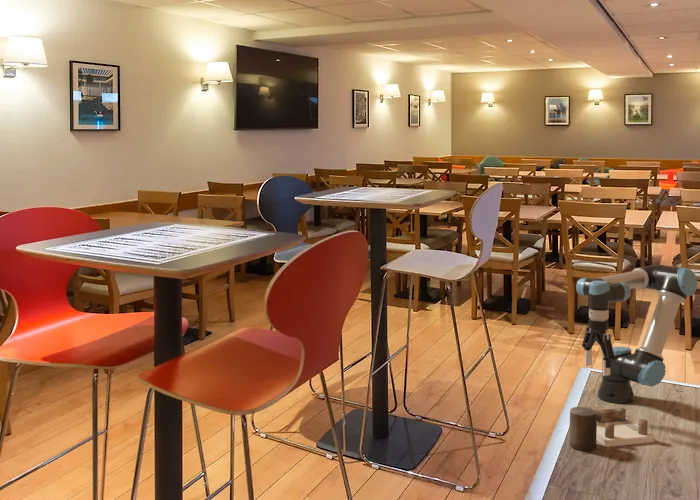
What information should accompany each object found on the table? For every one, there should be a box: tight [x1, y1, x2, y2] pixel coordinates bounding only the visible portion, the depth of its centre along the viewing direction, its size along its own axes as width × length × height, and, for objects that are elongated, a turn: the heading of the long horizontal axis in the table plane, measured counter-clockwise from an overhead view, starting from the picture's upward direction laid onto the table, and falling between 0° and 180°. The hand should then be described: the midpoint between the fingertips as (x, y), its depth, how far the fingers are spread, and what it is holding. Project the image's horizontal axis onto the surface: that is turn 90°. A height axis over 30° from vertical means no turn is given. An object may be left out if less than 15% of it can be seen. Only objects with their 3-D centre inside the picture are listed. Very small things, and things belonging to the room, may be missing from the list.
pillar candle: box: [568, 406, 597, 452], centre depth 247 cm, size 10×10×15 cm
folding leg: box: [595, 407, 627, 423], centre depth 264 cm, size 13×4×4 cm, turn 101°
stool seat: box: [596, 417, 656, 448], centre depth 257 cm, size 20×20×8 cm
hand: (597, 370), depth 268 cm, fingers open, 12 cm apart
